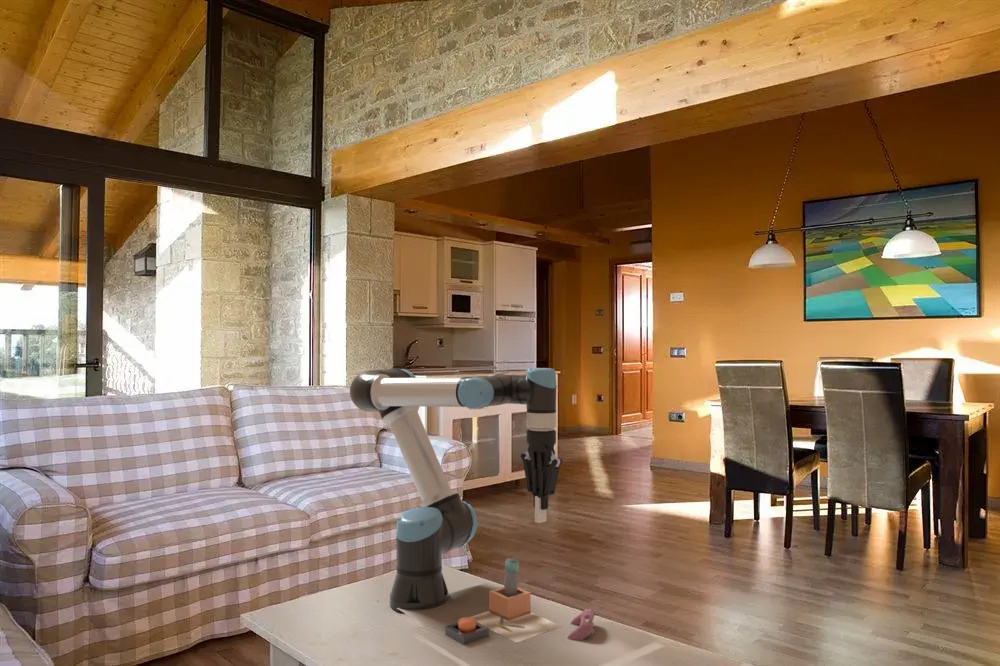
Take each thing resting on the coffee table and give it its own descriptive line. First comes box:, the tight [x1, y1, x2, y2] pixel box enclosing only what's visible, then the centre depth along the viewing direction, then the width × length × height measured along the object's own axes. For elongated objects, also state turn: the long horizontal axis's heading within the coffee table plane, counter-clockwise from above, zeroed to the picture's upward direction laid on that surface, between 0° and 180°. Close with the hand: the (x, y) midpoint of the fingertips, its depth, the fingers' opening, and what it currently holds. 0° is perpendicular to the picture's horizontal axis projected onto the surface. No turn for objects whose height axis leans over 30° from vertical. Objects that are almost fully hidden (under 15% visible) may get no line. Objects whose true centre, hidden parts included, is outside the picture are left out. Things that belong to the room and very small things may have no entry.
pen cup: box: [488, 586, 532, 621], centre depth 172 cm, size 7×7×5 cm
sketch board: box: [470, 610, 562, 644], centre depth 166 cm, size 20×16×1 cm
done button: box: [457, 616, 476, 633], centre depth 159 cm, size 4×4×2 cm
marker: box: [503, 557, 520, 597], centre depth 172 cm, size 3×3×12 cm
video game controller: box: [567, 608, 596, 641], centre depth 161 cm, size 10×5×7 cm, turn 170°
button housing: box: [445, 622, 490, 646], centre depth 159 cm, size 7×7×3 cm
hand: (540, 521), depth 179 cm, fingers closed
